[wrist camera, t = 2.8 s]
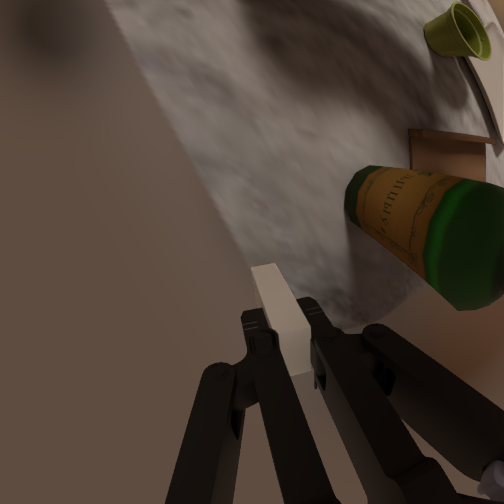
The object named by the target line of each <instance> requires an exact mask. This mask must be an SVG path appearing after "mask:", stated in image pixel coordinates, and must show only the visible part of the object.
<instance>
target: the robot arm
mask: <svg viewBox="0 0 504 504" xmlns="http://www.w3.org/2000/svg"><path fill="white" fill-rule="evenodd" d="M251 273H252V279H253V286H254V292H255V298H256V305H257V309H252V310H247V311H243V313H242V316H241V322H242V326H243V331H244V336H245V341H246V345H247V354H246V356H245V357H244V359H243V360H241V361H240V362H238V363H236V364H234V365H230V364H228V363H223V362H219V363H214V364H212V365H210V366H208V367H207V368H206V369H205V370H204V372H203V374H202V377H201V380H200V384H199V387H198V390H197V394H196V397H195V401H194V404H193V407H192V411H191V414H190V418H189V421H188V424H187V428H186V431H185V434H184V438H183V441H182V445H181V448H180V452H179V455H178V459H177V462H176V466H175V469H174V473H173V476H172V480H171V483H170V487H169V491H168V494H167V497H166V501H165V504H232V503H233V497H234V490H235V483H236V476H237V469H238V462H239V455H240V448H241V441H242V433H243V426H244V418H245V409H246V408H248V407H250V406H252V405H254V404H256V403H258V402H259V404H260V408H261V413H262V417H263V421H264V426H265V429H266V434H267V438H268V442H269V446H270V450H271V454H272V458H273V462H274V466H275V470H276V474H277V478H278V481H279V485H280V489H281V493H282V497H283V500H284V504H341V503H340V501H339V500H338V499H337V498H336V496H335V494H334V492H333V489H332V487H331V484H330V481H329V479H328V476H327V474H326V471H325V468H324V466H323V463H322V460H321V458H320V455H319V452H318V450H317V448H316V444H315V442H314V439H313V436H312V434H311V431H310V429H309V426H308V423H307V420H306V418H305V415H304V413H303V410H302V407H301V404H300V402H299V399H298V396H297V394H296V391H295V388H294V386H293V383H292V380H291V376H295V375H299V374H303V373H306V372H310V371H311V364H312V366H313V368H314V387H315V389H317V385H318V387H319V389H320V391H321V394H322V396H323V398H324V400H325V403H326V405H327V407H328V409H329V412H330V414H331V416H332V418H333V421H334V423H335V425H336V427H337V430H338V432H339V434H340V436H341V439H342V441H343V443H344V445H345V447H346V450H347V452H348V454H349V457H350V459H351V461H352V463H353V466H354V468H355V470H356V473H357V475H358V477H359V479H360V481H361V484H362V486H363V488H364V491H365V493H366V495H367V499H368V504H504V411H503V410H502V409H501V408H499V407H498V406H497V405H495V404H494V403H493V402H491V401H490V400H489V399H487V398H486V397H484V396H483V395H482V394H480V393H479V392H478V391H476V390H475V389H474V388H472V387H471V386H469V385H468V384H467V383H466V382H464V381H463V380H461V379H460V378H458V377H457V376H456V375H454V374H453V373H452V372H450V371H449V370H448V369H446V368H445V367H443V366H442V365H441V364H439V363H438V362H436V361H435V360H434V359H432V358H431V357H429V356H428V355H427V354H425V353H424V352H422V351H421V350H420V349H418V348H417V347H415V346H414V345H413V344H411V343H410V342H408V341H407V340H405V339H404V338H402V337H401V336H400V335H398V334H397V333H396V332H394V331H393V330H391V329H390V328H388V327H387V326H385V325H383V324H378V323H377V324H370V325H368V326H366V327H365V328H364V329H363V331H362V334H345V333H344V332H343V331H342V330H341V329H339V328H336V327H333V325H332V324H331V322H330V321H329V319H328V318H327V316H326V315H325V313H324V312H323V310H322V309H321V307H320V306H319V304H318V303H317V301H316V300H314V299H313V298H311V297H304V298H300V299H295V298H294V296H293V294H292V292H291V291H290V289H289V287H288V285H287V283H286V282H285V280H284V278H283V276H282V275H281V273H280V271H279V269H278V267H277V266H276V264H275V263H272V264H267V265H262V266H256V267H251ZM400 418H401V419H403V420H404V421H405V422H406V423H407V424H408V425H409V426H410V427H411V428H412V429H413V430H414V431H416V433H418V434H419V435H420V436H421V437H422V438H423V439H424V440H425V441H426V442H428V443H429V444H430V445H431V446H432V447H433V448H434V449H435V450H436V451H438V452H439V453H440V454H441V455H442V456H443V457H444V458H445V459H446V460H447V461H449V462H450V463H451V464H452V465H453V466H454V467H455V468H456V469H458V470H459V471H460V472H462V473H463V474H464V475H466V476H468V477H469V478H471V479H473V480H476V481H479V482H480V484H479V485H478V488H477V490H478V493H479V494H486V495H487V496H489V497H490V499H491V500H487V499H482V498H477V497H472V496H468V495H464V494H460V493H456V490H455V489H454V487H453V486H452V484H451V482H450V480H449V479H448V477H447V475H446V474H445V472H444V470H443V469H442V467H441V465H440V464H439V463H438V462H437V460H435V459H433V458H430V457H425V456H424V455H423V454H422V453H421V451H420V450H419V448H418V446H417V444H416V443H415V441H414V439H413V438H412V436H411V435H410V433H409V431H408V430H407V428H406V426H405V425H404V423H403V422H402V420H401V419H400Z"/></svg>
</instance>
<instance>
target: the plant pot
mask: <svg viewBox="0 0 504 504" xmlns="http://www.w3.org/2000/svg"><path fill="white" fill-rule="evenodd" d="M424 31H425V38H426V40H427V42H428V44H429V45H430V47H431V48H432V49H433V50H434V51H435V52H436V53H438V54H440V55H441V56H443V57H449V56H468V57H474V58H479V59H480V60H483V61H487V60H489V59H490V58H491V55H492V48H491V42H490V39H489V37H488V34H487V32H486V29H485V28H484V26H483V24H482V23H481V21H480V20H479V18H478V17H477V16H476V14H475V13H474V12H473V11H472V10H471V9H470V8H469V7H467V6H466V5H465V4H463V3H461V2H454V3H453V4H452V5H451V7H450V8H449V9H448V10H447V12H445V13H443V14H442V15H440V16H439V17H437V18H435V19H434V20H432V21H430V22H429V23H427V24H426V25H425V26H424Z"/></svg>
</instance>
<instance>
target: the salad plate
mask: <svg viewBox="0 0 504 504" xmlns="http://www.w3.org/2000/svg"><path fill="white" fill-rule="evenodd" d="M484 28H485V29H486V32H487V34H488V37H489V39H490V42H491V48H492V55H491V58H490V59H489V60H487V61H483V60H480V59H479V58H474V57H468V56H464V58H465V59H466V61H467V63H468V65H469V67H470V69H471V71H472V73H473V75H474V77H475V79H476V81H477V83H478V85H479V88H480V90H481V92H482V94H483V97H484V99H485V102H486V104H487V107H488V109H489V112H490V115H491V118H492V121H493V123H494V127H495V129H496V132H497V135H498V137H499V139H500V141H501V143H502V144H503V145H504V39H503V37H502V35H501V33H500V32H499V30H498V28H497V26H496V25H495V23H494V22H493V21H491V22H489V23H487V24H486V25H485V26H484Z"/></svg>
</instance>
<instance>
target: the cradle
mask: <svg viewBox="0 0 504 504" xmlns="http://www.w3.org/2000/svg"><path fill="white" fill-rule="evenodd" d="M408 131H409V144H410V163H411V170H417V171H425V172H432V173H438V174H444V175H450V176H456V177H461V178H467V179H472V180H477V181H482V182H486V146H485V143H488V144H494V145H495V139H493V138H487V137H481V136H475V135H468V134H461V133H453V132H444V131H434V130H422V129H408Z"/></svg>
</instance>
